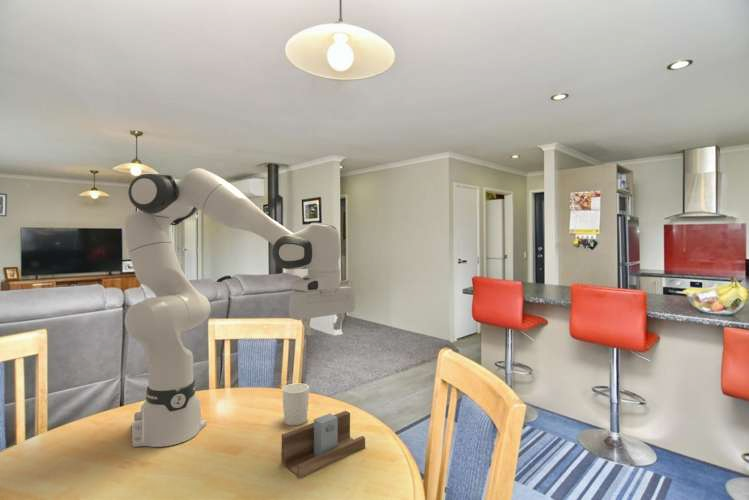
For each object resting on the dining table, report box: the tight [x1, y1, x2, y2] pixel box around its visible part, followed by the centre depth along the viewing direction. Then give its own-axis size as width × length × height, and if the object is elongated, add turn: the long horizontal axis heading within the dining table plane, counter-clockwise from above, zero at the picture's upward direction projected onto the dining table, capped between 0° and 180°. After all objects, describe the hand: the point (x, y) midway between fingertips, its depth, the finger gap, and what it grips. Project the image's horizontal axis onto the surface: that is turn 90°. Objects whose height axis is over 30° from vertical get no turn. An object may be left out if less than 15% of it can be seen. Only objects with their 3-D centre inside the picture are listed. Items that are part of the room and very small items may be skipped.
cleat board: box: [281, 410, 366, 479], centre depth 98 cm, size 8×20×7 cm, turn 134°
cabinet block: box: [313, 413, 338, 456], centre depth 98 cm, size 4×5×9 cm
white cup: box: [281, 382, 310, 426], centre depth 117 cm, size 8×8×10 cm
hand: (323, 332), depth 107 cm, fingers open, 8 cm apart
